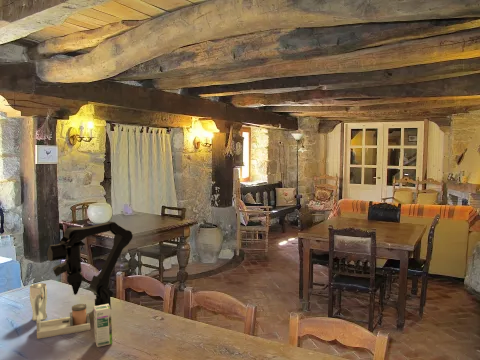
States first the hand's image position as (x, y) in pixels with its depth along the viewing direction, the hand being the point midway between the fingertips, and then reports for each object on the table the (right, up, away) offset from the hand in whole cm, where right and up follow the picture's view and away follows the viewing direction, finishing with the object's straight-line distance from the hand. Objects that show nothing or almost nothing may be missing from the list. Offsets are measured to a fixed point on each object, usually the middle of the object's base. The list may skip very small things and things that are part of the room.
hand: (75, 291), depth 184 cm
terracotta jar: (+5, -12, -8) cm, 15 cm away
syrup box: (+20, -14, -23) cm, 34 cm away
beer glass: (-16, -12, 0) cm, 20 cm away
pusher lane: (0, -13, -10) cm, 17 cm away
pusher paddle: (+1, -12, -10) cm, 16 cm away
